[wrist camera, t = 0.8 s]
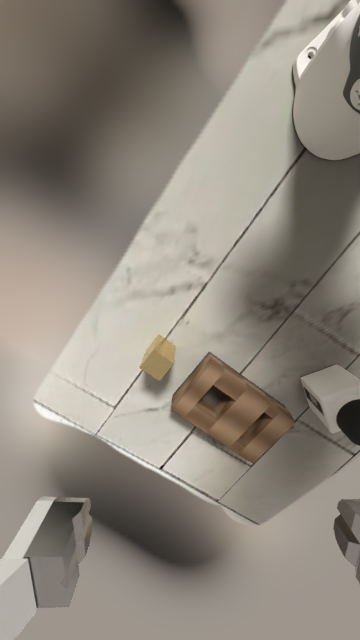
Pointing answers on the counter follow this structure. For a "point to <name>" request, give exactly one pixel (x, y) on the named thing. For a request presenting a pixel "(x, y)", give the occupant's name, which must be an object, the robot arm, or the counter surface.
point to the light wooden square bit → (158, 357)
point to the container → (335, 400)
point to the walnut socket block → (231, 408)
